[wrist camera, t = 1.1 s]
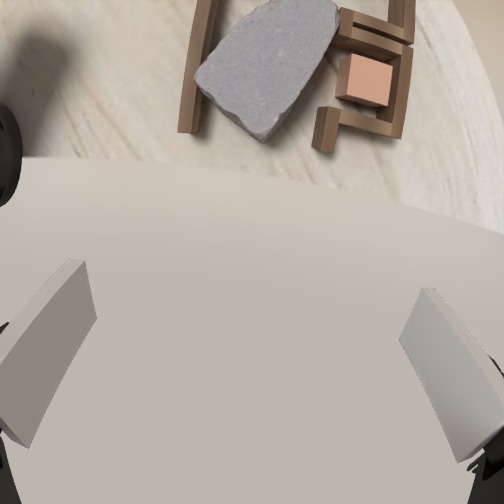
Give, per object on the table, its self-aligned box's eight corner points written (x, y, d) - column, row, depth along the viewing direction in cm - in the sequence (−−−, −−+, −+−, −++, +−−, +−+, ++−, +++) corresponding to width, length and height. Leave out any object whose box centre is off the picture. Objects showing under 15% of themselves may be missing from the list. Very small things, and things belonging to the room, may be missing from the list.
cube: (334, 96, 25) (346, 94, 22) (339, 60, 24) (352, 53, 20) (371, 106, 26) (387, 106, 22) (376, 71, 24) (392, 66, 20)
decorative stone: (198, 128, 27) (297, 151, 28) (179, 129, 21) (307, 159, 21) (234, -2, 21) (332, 21, 22) (227, -32, 15) (351, -3, 15)
